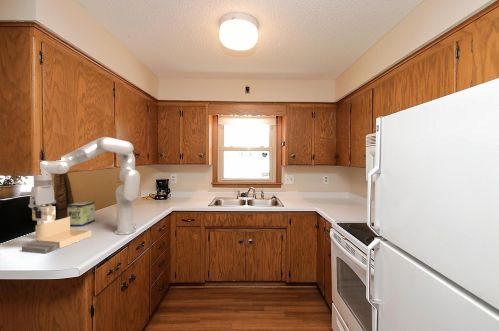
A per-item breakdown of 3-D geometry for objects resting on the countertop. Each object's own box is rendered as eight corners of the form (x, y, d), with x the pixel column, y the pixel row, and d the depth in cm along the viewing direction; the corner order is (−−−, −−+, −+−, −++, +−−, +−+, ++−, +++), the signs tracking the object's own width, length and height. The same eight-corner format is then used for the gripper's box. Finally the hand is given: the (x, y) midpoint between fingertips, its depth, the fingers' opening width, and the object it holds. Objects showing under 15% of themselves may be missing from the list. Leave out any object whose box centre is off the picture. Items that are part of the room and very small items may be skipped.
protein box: (67, 226, 183) (66, 205, 183) (82, 221, 199) (81, 201, 198) (81, 226, 183) (81, 205, 182) (95, 221, 199) (95, 201, 198)
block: (40, 218, 141) (40, 205, 141) (55, 219, 139) (55, 206, 139) (32, 220, 137) (32, 207, 137) (47, 221, 135) (47, 208, 135)
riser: (34, 247, 141) (34, 242, 141) (57, 249, 138) (57, 244, 138) (22, 252, 135) (21, 246, 134) (45, 254, 132) (45, 248, 132)
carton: (69, 235, 163) (69, 216, 162) (91, 237, 160) (90, 218, 159) (36, 247, 142) (35, 225, 142) (59, 249, 139) (59, 227, 139)
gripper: (52, 181, 147) (52, 213, 147) (20, 184, 130) (20, 220, 131) (63, 182, 145) (63, 214, 146) (31, 185, 129) (32, 221, 129)
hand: (43, 216), depth 138 cm, fingers closed on block, 4 cm apart
